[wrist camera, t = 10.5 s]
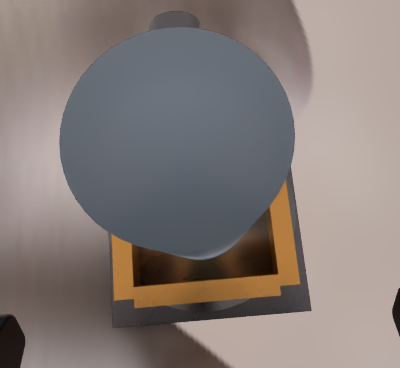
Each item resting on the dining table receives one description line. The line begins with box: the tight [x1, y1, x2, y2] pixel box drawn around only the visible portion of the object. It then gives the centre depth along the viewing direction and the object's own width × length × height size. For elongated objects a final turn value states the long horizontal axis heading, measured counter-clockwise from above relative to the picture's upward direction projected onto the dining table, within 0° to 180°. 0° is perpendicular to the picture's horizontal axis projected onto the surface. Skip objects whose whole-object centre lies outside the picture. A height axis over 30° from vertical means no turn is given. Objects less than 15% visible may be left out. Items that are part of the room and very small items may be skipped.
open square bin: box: [108, 166, 311, 328], centre depth 20 cm, size 11×11×6 cm
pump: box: [59, 11, 295, 260], centre depth 13 cm, size 6×4×12 cm
